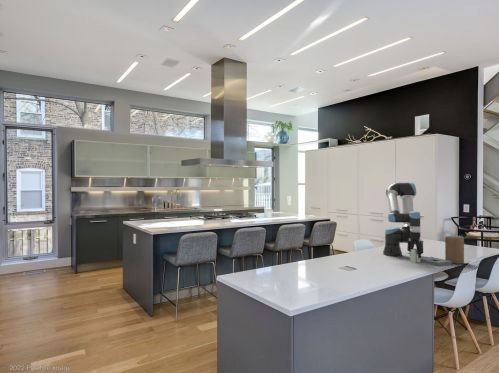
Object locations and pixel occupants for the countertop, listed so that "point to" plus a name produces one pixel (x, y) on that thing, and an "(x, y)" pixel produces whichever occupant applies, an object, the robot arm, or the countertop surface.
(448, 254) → the block
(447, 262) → the plate
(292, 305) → the countertop surface
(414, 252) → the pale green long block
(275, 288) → the countertop surface
